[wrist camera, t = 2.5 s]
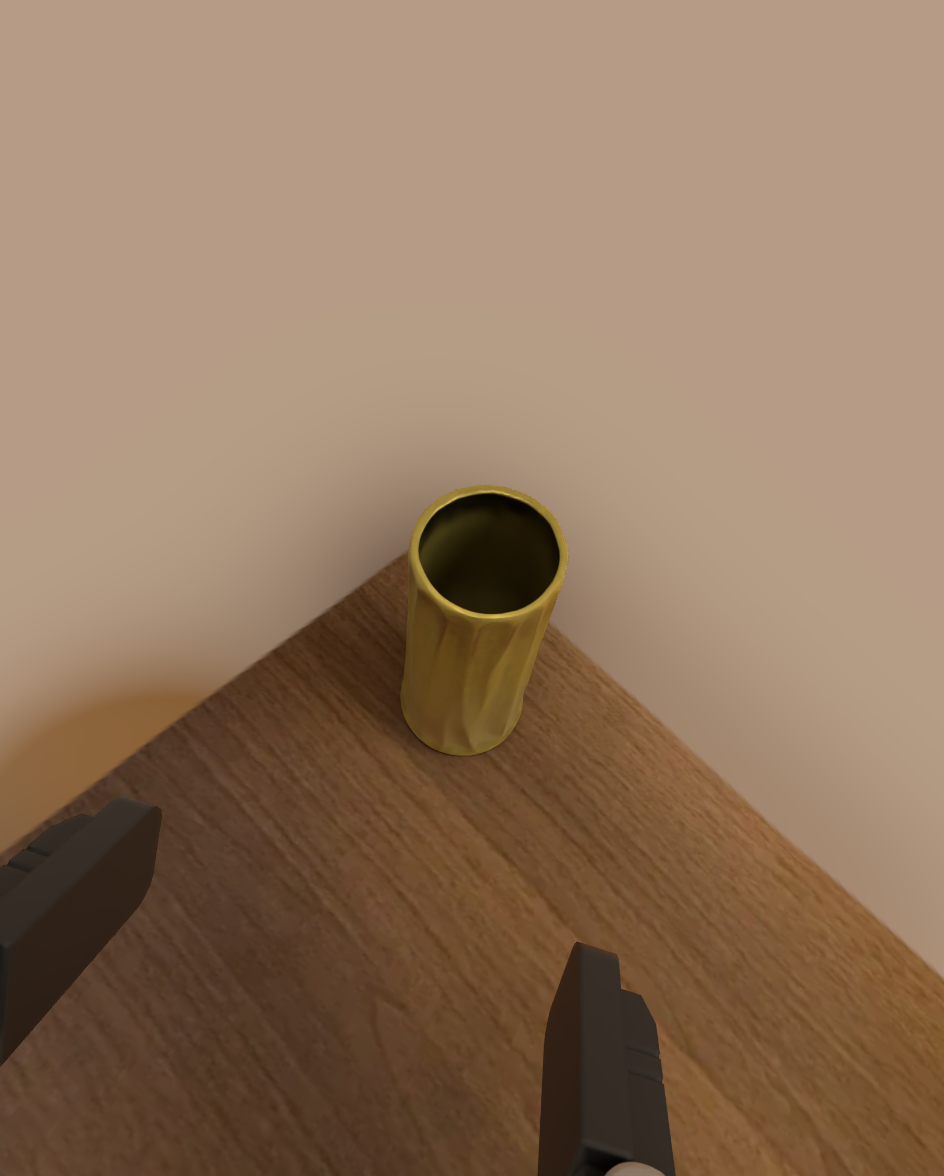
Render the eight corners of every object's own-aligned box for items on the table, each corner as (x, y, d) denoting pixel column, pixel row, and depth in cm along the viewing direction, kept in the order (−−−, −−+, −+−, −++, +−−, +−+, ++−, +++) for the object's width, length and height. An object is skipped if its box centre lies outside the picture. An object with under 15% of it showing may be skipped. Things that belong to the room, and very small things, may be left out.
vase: (537, 664, 37) (603, 506, 24) (499, 776, 34) (552, 662, 21) (427, 625, 37) (435, 450, 25) (381, 731, 34) (364, 594, 22)
